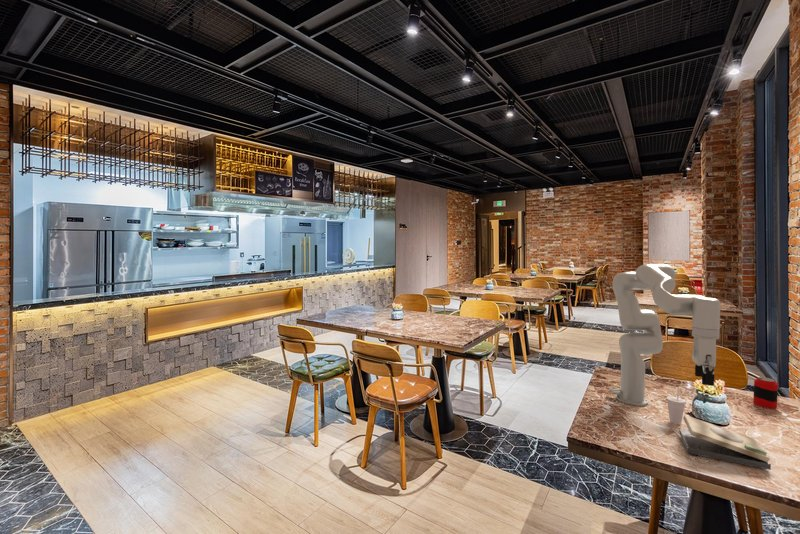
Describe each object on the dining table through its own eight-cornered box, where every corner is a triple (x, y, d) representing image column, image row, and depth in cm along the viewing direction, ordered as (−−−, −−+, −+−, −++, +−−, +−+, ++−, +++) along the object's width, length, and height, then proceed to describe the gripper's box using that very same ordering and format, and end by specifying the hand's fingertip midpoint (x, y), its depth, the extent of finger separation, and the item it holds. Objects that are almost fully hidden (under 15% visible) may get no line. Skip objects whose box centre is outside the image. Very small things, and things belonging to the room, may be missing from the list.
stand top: (691, 434, 126) (693, 428, 126) (683, 418, 139) (685, 412, 138) (768, 462, 117) (770, 455, 117) (752, 442, 129) (754, 435, 129)
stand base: (687, 455, 127) (687, 447, 127) (679, 435, 140) (679, 428, 140) (770, 472, 117) (770, 464, 117) (753, 450, 130) (753, 442, 130)
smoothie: (688, 426, 147) (689, 392, 146) (670, 425, 148) (671, 391, 147) (680, 419, 153) (681, 386, 152) (662, 418, 154) (663, 385, 154)
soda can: (751, 400, 172) (752, 375, 171) (773, 404, 168) (774, 378, 167) (756, 406, 165) (757, 380, 164) (779, 410, 161) (780, 383, 161)
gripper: (686, 327, 140) (685, 372, 140) (698, 336, 125) (696, 386, 125) (712, 329, 136) (710, 375, 137) (727, 338, 121) (725, 390, 122)
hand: (704, 380), depth 131 cm, fingers open, 9 cm apart
